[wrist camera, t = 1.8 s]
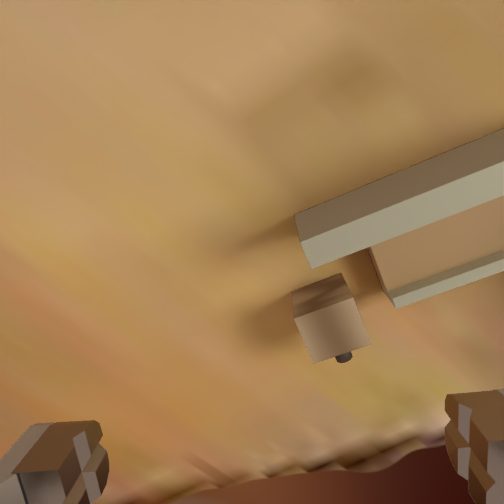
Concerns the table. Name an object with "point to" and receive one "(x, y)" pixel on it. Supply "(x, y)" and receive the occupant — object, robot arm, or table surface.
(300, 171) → the table surface
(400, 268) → the grey boxy piece
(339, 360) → the cabinet block
